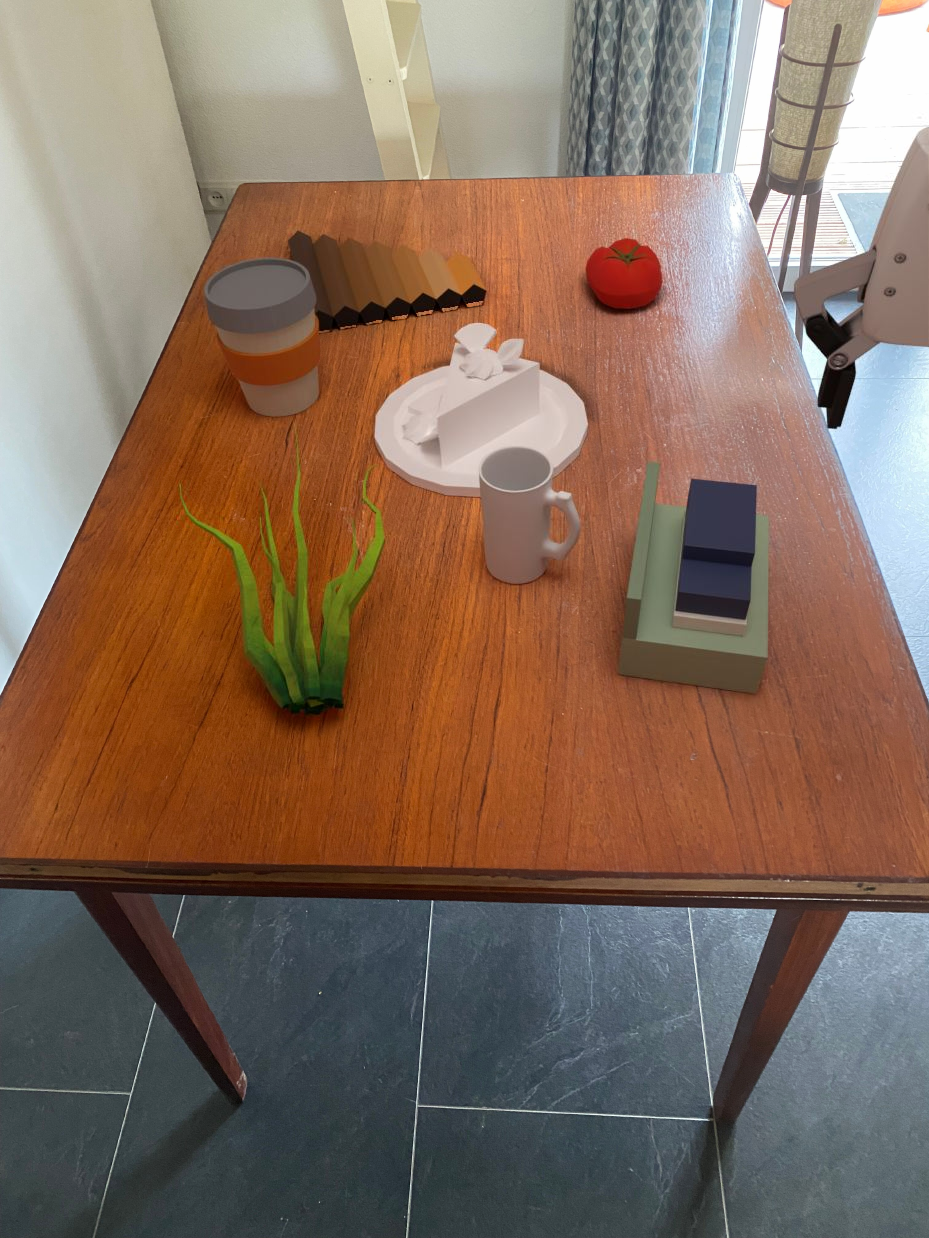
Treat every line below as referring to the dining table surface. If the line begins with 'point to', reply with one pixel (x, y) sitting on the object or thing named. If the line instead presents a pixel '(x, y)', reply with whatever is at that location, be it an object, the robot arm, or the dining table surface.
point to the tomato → (624, 274)
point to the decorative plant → (301, 618)
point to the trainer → (716, 557)
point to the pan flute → (381, 279)
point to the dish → (477, 415)
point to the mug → (522, 514)
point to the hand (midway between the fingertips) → (916, 422)
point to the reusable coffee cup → (268, 332)
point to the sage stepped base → (651, 602)
